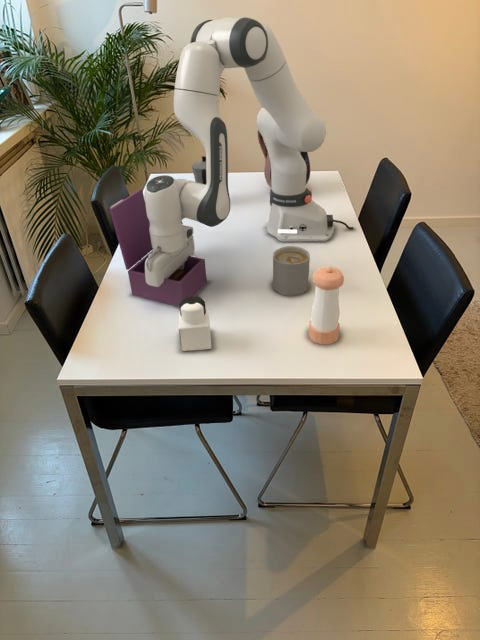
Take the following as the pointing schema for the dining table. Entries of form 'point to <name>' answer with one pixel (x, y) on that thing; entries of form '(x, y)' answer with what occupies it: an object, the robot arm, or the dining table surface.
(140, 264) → the box
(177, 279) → the block
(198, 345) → the bust figurine
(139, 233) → the box file lid
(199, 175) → the coffeepot
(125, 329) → the dining table surface
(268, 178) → the ceramic pitcher
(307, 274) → the coffee mug
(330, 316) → the salt shaker
